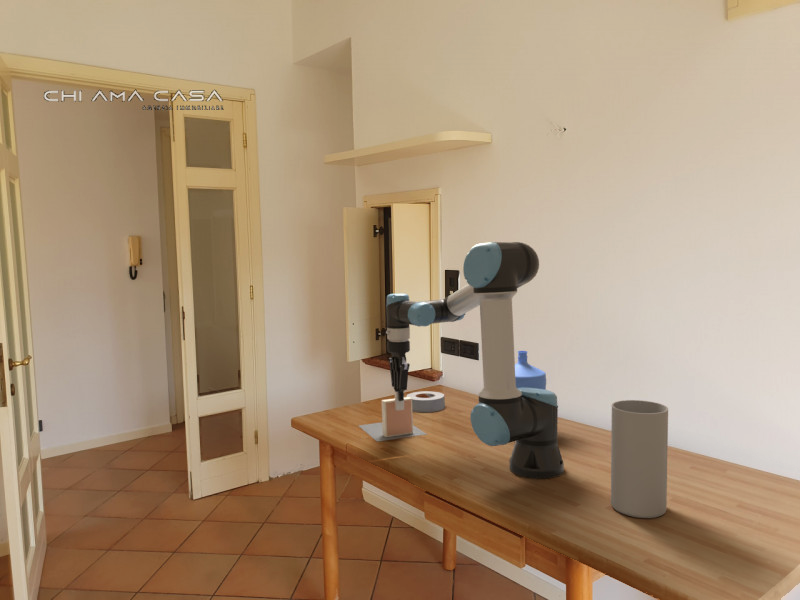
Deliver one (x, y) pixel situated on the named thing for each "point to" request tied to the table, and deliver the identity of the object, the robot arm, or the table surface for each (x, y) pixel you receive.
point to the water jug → (528, 374)
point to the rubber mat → (377, 432)
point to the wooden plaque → (397, 418)
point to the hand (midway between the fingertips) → (399, 409)
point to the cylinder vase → (639, 458)
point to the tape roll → (427, 401)
